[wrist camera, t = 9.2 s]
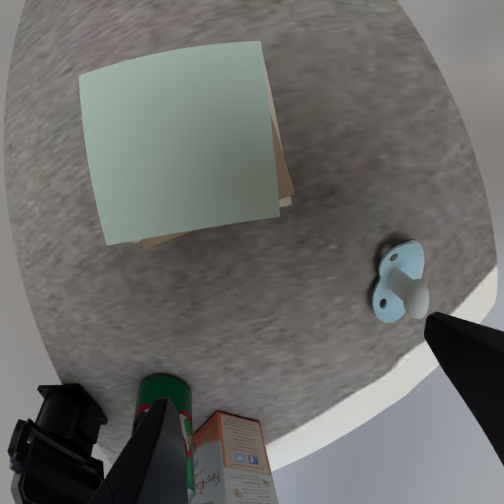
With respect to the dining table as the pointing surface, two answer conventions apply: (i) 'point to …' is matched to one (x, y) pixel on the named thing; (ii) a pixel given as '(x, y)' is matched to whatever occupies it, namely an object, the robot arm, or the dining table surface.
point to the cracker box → (231, 463)
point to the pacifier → (401, 284)
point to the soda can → (183, 404)
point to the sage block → (180, 141)
